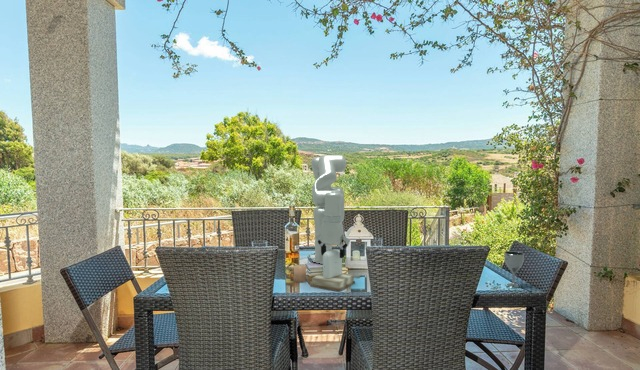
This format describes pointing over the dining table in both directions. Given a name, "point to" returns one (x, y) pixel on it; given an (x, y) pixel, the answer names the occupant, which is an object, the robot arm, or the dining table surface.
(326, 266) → the grey rounded block
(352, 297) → the dining table surface
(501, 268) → the dining table surface
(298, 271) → the tan short cylinder
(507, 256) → the wine glass
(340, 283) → the beige ridged block
